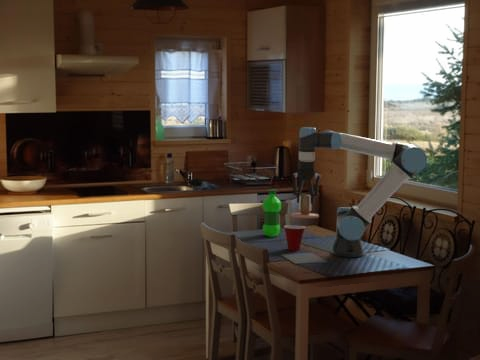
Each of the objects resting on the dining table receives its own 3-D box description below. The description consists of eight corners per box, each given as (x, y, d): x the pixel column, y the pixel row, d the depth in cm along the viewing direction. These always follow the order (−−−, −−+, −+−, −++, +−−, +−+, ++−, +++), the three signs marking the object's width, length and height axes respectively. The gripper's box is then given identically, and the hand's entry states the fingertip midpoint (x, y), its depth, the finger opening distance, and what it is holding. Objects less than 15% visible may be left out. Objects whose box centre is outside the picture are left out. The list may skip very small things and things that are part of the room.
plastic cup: (304, 247, 390) (305, 224, 389) (304, 252, 380) (305, 228, 378) (283, 246, 391) (284, 223, 390) (282, 251, 381) (283, 227, 379)
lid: (324, 217, 363) (325, 195, 363) (307, 218, 354) (308, 196, 353) (302, 214, 372) (303, 193, 372) (285, 215, 363) (286, 194, 362)
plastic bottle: (258, 234, 420) (260, 188, 416) (277, 233, 423) (278, 188, 420) (265, 238, 410) (266, 191, 407) (283, 237, 413) (284, 191, 410)
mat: (327, 262, 360) (327, 261, 360) (295, 264, 355) (295, 263, 355) (311, 253, 377) (311, 252, 377) (281, 255, 372) (281, 254, 372)
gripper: (326, 160, 361) (324, 209, 364) (290, 158, 365) (288, 207, 368) (323, 162, 354) (322, 212, 357) (287, 160, 358) (285, 210, 361)
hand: (305, 210), depth 363 cm, fingers closed on lid, 4 cm apart
